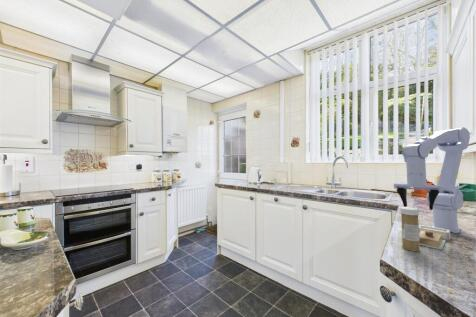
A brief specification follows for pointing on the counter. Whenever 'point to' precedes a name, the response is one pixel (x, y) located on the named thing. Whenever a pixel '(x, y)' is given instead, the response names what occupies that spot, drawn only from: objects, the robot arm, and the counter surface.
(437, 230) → the butter dish
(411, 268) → the counter surface
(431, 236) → the lid
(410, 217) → the sprinkles bottle
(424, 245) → the mat
